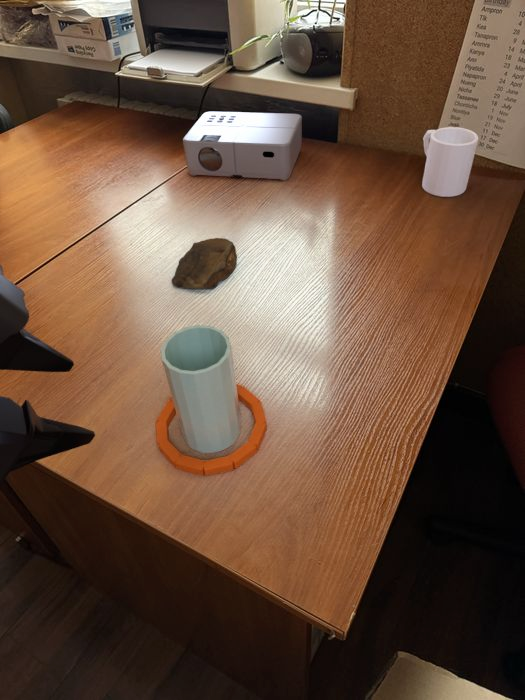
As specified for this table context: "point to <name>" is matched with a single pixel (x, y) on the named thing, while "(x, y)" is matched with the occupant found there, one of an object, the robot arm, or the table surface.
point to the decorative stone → (206, 264)
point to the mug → (448, 160)
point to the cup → (203, 387)
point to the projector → (244, 144)
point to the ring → (218, 463)
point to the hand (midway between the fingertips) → (81, 399)
